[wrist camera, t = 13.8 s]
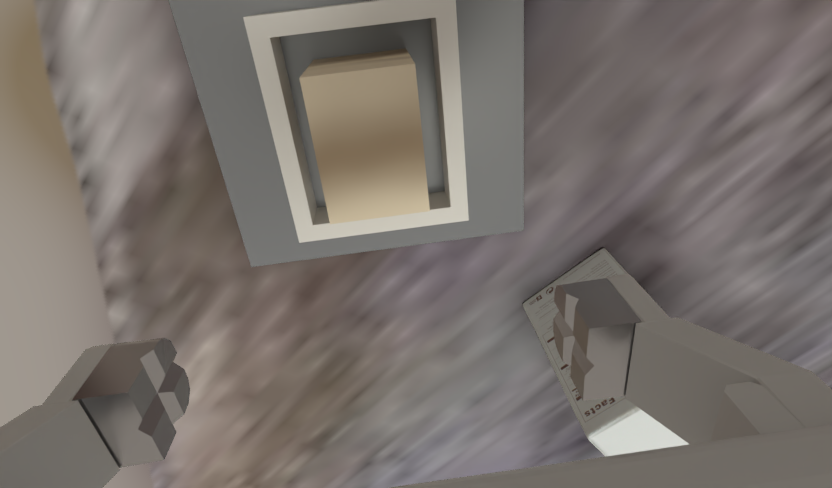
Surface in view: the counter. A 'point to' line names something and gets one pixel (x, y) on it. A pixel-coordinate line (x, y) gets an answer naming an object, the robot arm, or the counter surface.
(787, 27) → the counter surface
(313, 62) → the tan cardboard carton
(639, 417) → the supplement box
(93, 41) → the counter surface
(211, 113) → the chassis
